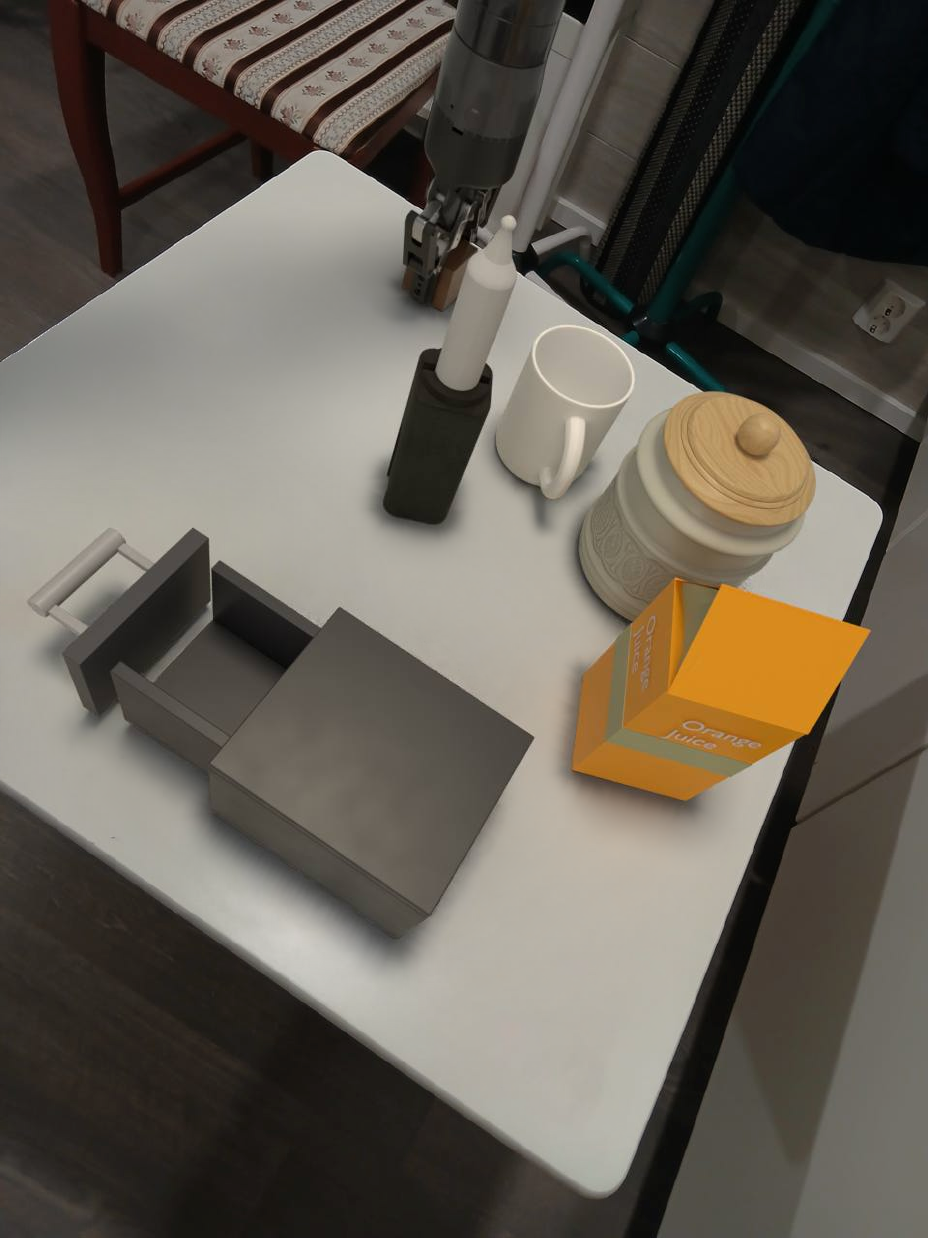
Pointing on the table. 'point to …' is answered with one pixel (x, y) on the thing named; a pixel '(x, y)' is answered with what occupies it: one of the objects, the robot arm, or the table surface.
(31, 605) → the basket
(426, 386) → the candle
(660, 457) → the jar
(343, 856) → the fryer
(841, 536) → the table surface
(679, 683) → the orange juice
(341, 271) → the table surface
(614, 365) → the mug
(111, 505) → the table surface
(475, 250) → the block
